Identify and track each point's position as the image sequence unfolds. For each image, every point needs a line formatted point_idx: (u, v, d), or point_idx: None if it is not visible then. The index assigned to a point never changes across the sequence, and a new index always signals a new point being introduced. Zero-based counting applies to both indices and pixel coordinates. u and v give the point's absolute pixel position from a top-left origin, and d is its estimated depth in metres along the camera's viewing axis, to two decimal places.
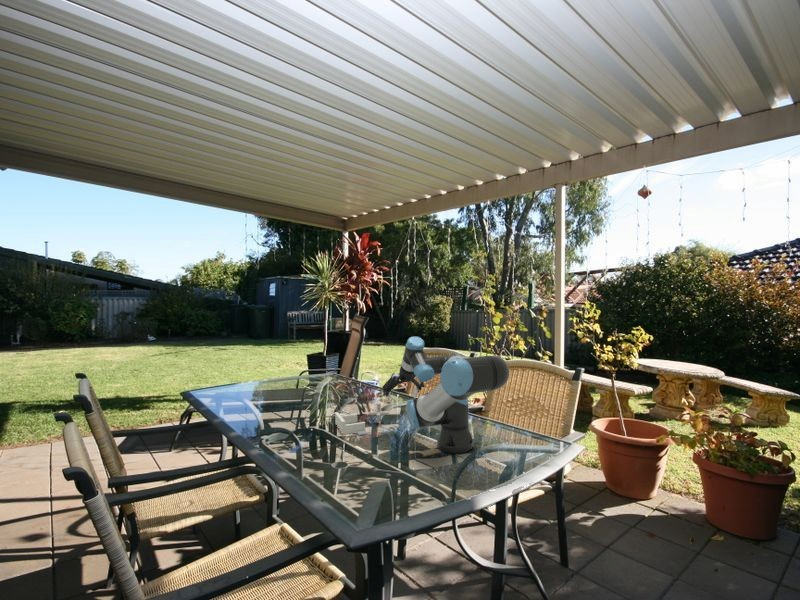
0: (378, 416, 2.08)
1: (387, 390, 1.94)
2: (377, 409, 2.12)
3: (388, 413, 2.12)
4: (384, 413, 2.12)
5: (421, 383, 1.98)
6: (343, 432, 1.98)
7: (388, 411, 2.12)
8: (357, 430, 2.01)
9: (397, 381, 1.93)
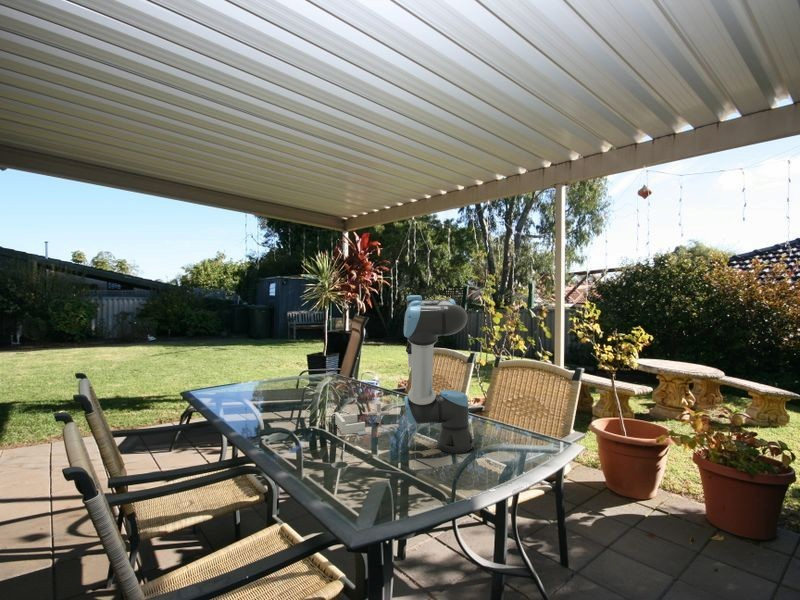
0: (378, 416, 2.08)
1: (407, 351, 2.17)
2: (377, 409, 2.12)
3: (388, 413, 2.12)
4: (384, 413, 2.12)
5: None
6: (343, 432, 1.98)
7: (388, 411, 2.12)
8: (357, 430, 2.01)
9: None
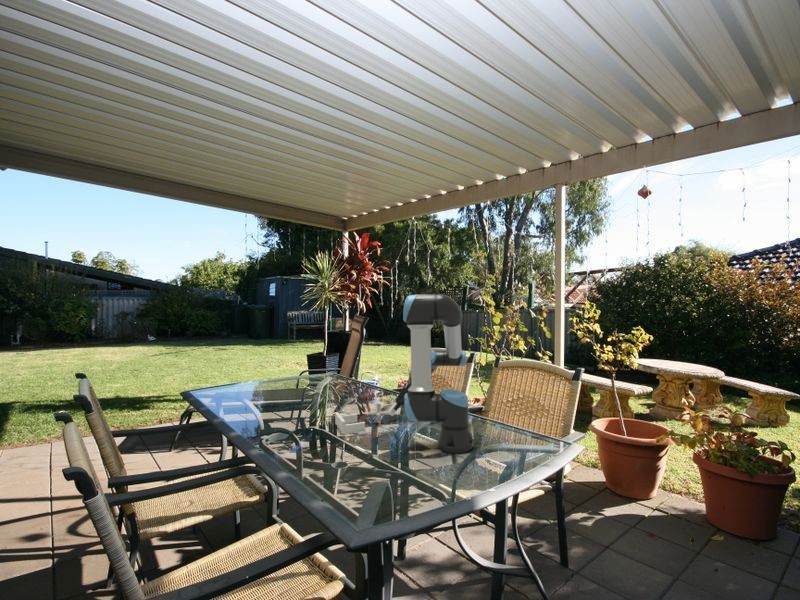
0: (378, 416, 2.08)
1: None
2: (377, 409, 2.12)
3: (388, 413, 2.12)
4: (384, 413, 2.12)
5: (404, 398, 2.14)
6: (343, 432, 1.98)
7: (388, 411, 2.12)
8: (357, 430, 2.01)
9: None
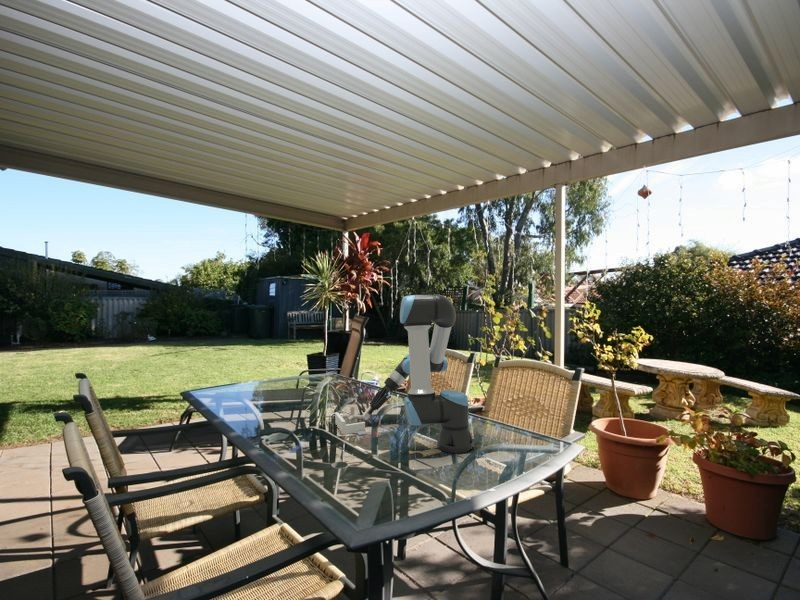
0: (348, 419, 2.04)
1: (371, 404, 2.13)
2: None
3: (360, 417, 2.06)
4: (357, 417, 2.07)
5: (378, 401, 2.09)
6: (343, 432, 1.98)
7: (361, 415, 2.07)
8: (357, 430, 2.01)
9: None
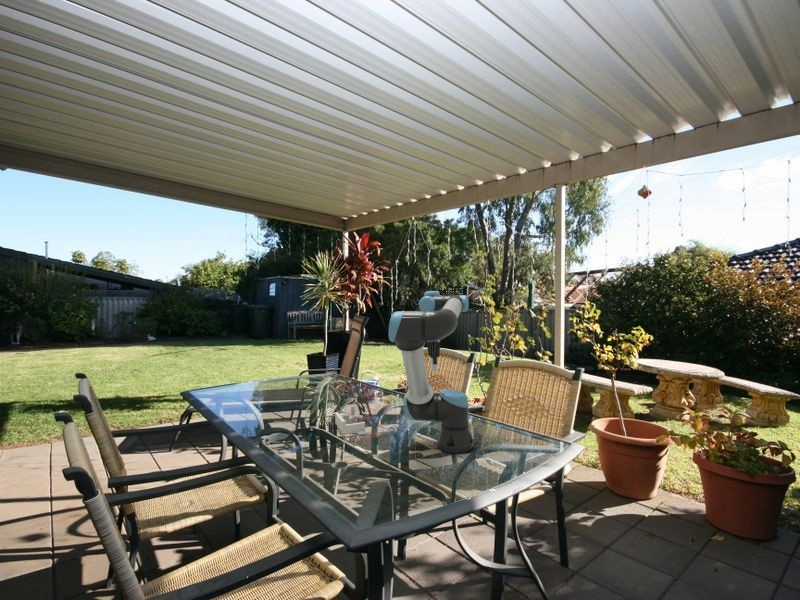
0: (348, 419, 2.04)
1: None
2: (351, 412, 2.08)
3: (361, 417, 2.06)
4: (357, 417, 2.07)
5: (434, 350, 2.05)
6: (343, 432, 1.98)
7: (361, 415, 2.07)
8: (357, 430, 2.01)
9: None
